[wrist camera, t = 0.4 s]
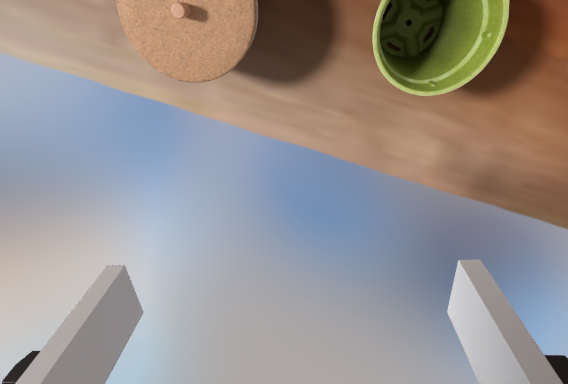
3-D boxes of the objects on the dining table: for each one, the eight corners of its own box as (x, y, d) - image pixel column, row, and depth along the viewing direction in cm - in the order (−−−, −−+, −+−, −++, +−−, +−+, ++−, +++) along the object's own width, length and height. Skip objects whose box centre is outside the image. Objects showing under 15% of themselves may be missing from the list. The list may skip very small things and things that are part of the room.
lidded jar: (289, 14, 32) (283, 19, 24) (213, 89, 36) (185, 114, 28) (207, -94, 28) (166, -132, 20) (133, 2, 32) (73, 2, 24)
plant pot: (483, -8, 30) (541, -11, 23) (421, 90, 35) (452, 114, 27) (392, -58, 29) (422, -79, 21) (340, 50, 33) (349, 65, 26)
